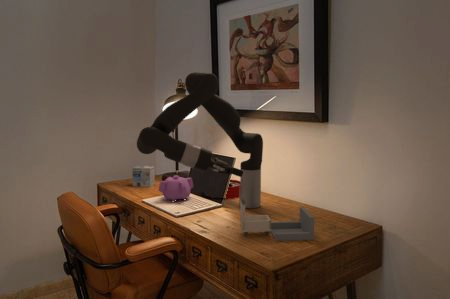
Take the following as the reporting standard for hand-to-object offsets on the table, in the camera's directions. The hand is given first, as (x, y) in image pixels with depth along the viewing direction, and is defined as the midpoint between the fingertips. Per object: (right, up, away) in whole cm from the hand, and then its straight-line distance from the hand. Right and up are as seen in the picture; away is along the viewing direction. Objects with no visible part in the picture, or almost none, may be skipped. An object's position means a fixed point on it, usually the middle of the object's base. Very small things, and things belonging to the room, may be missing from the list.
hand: (241, 173), depth 138 cm
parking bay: (+17, -22, +7) cm, 29 cm away
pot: (-29, -16, +56) cm, 65 cm away
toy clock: (-7, -15, +66) cm, 68 cm away
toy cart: (+5, -22, +6) cm, 23 cm away
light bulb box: (-51, -12, +85) cm, 100 cm away
